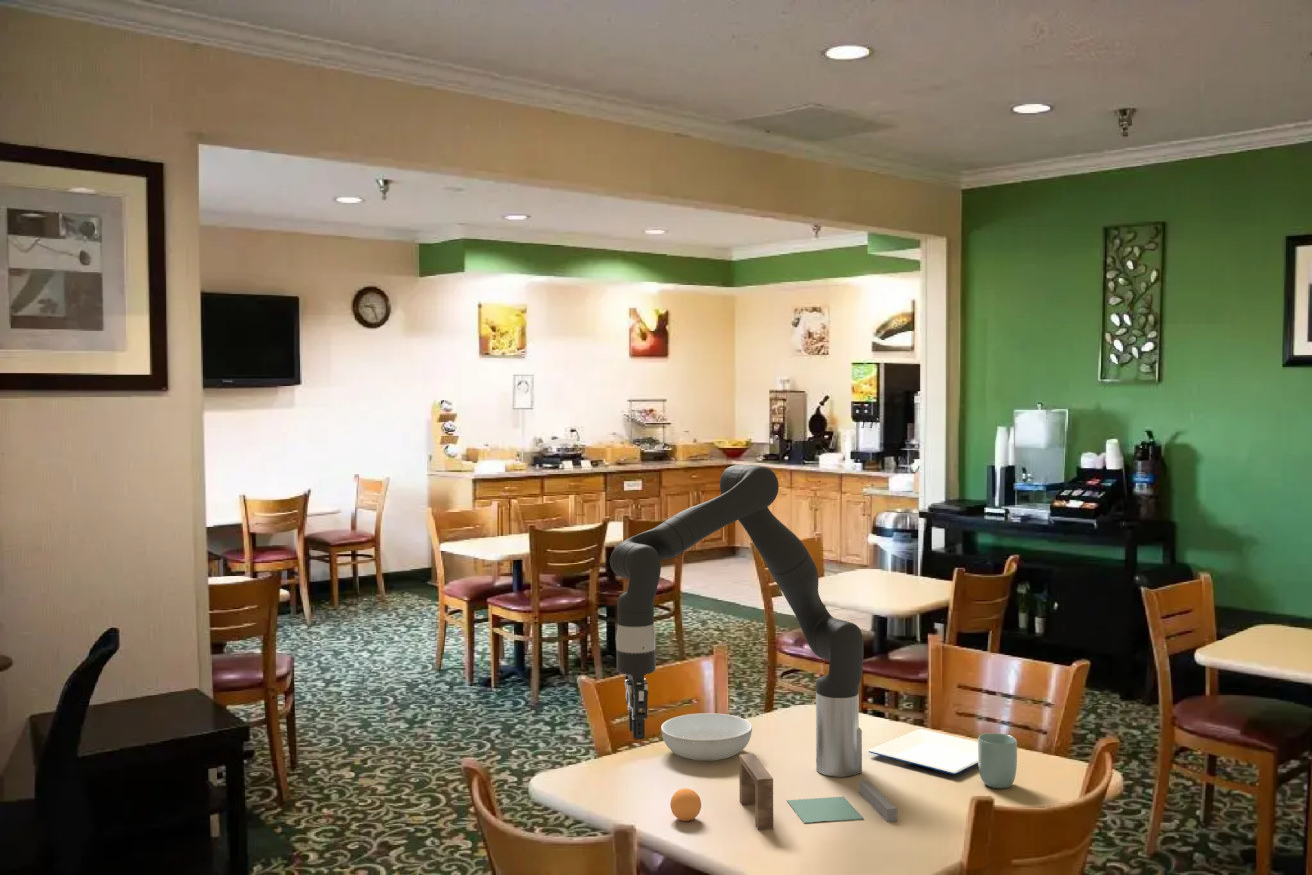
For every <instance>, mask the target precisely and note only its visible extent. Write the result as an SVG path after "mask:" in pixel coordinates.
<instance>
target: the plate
mask: <svg viewBox="0 0 1312 875" xmlns="http://www.w3.org/2000/svg"><path fill="white" fill-rule="evenodd" d="M867 752H868V753H870V754H874V755H878V756H881V757H885V758H888V759H893V760H897V761H901V762H905V763H908V764H913V765H916V766H920V767H924V768H926V769H927V768H928V769H932V770H935V771H939V772H943V773H947V774H950V775H951V774H952V775H957V774H959V773H960V772H963V771H965V770H967V769H969V768H971V767H973V766H975V765H978V741H975V740H970V739H965V738H961V737H958V736H952V735H948V734H943V733H939V732H935V731H931V730H928V729H922V728H919V729H916V730H913V731H910V732H907V733H906V734H903V735H901V736H898V737H896V738H894V739H891V740H888V741H886V742H883V743H882V744H879V745H876V746H874V747H871V748H869V749H867Z"/></svg>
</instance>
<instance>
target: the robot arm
mask: <svg viewBox="0 0 1312 875" xmlns="http://www.w3.org/2000/svg"><path fill="white" fill-rule="evenodd" d="M779 487H780V485H779V480H778V477H777V475H776V474H775V472H774V471H773V470H772V469H770V468H769V467H766V466H763V465H757V464H734V465H730V466H729V467H727V468H725V469H724V471H723V472H722V474H721V475H720V480H719V490H720V493H721V495H718V496H716V497H714V498H712V499H710V500H708V501H707V500H706V501H704V502H702V503H699V504H696V505H694V506H690V507H688V508H686V509H684V510H681V511H680V512H678V513H676V514H674V515H672V516H671V517H669V518H668V519H666V520H664V521H663V522H661V523H660V524H658V525H657V526H655V527H654V528H651V529H649V530H645V531H643V532H641V533H638V534H636V535H635V534H634V536H630V537H628V538H627V539H625V540H623V541H622V542H620V543H619V544H617V546H615V547H614V549H613V550H612V552H611V555H610V558H609V564H610V568H611V571H612V572H613V573H614V574H615V575H617V576H618V577H620V578H622V579H627V580H628V587H627V591H625V592H623V593H621V594H619V596H618V598H617V627H616V637H615V639H616V642H615V643H616V647H615V648H616V670H617V672H618V673H620V674H622V675H625V676H624V687H625V699H626V701H625V704H626V708H627V711H628V730H629V731H630V732H632V738H633V739H634V740H635V741H636V740H644V739H645V736H646V735H645V732H646V731H645V726H646V725H645V723H646V722H645V720H647V719H648V699H649V698H648V697H649V686H648V684H649V683H648V682H647V681H646V678H645V676H646V675H648V674H652V673H655V671H656V668H657V667H656V666H657V665H656V664H657V663H656V659H657V658H656V654H657V652H656V630H655V605H654V604H655V598H656V595H657V590H658V586H659V583H660V577H661V570H662V564H661V563H662V562H661V560H670V559H673V558H676V557H678V556H679V555H681V554H682V553H684V552H685V551H686V550H689V549H690V548H692V547H693V546H695V545H696V544H698V543H699V542H702V540H704V539H706V538H707V537H708V536H711V535H712V534H714V533H715V532H718V531H719V530H721V529H722V528H724V527H727V526H728V525H731V524H733V523H734V522H736V521H738V522H739V523H740V525H742V527H743V529H744V530H745V531H746V533H747V535H748V536H749V538H750V539H751V542H752V543H753V545H754V546H755V549H756V550H757V551H758V553H759V554H760V557H761V558H762V560H763V561H764V563H765V566H766V568H767V569H768V571H769V573H770V575H771V576H772V578H773V580H774V581H775V583H776V585H777V586H778V587H779V589H780V591H781V592H782V595H783V596H784V598H785V600H786V602H787V603H788V605H789V607H790V608H791V610H792V612H793V614H794V615H795V618H796V619H797V622H798V624H799V627H800V628H801V631H802V633H803V635H804V638H805V640H806V642H807V644H808V646H809V648H810V649H811V650H810V651H812V652H813V653H814V654H815V656H817V657H819V658H821V659H823V660H826V661H829V671H828V674H825V675H822V676H820V677H818V678H816V682H815V726H816V727H815V736H816V738H815V746H816V747H815V753H816V756H815V764H816V766H815V769H816V771H817V772H818V773H820V774H822V775H824V776H828V777H829V776H830V777H835V778H836V777H837V778H838V777H840V778H842V777H844V778H845V777H850V776H855V775H857V774H862V773H863V730H862V729H861V727H860V721H859V717H860V716H859V714H860V711H859V710H860V709H859V707H860V706H859V705H860V704H859V703H860V702H859V697H860V696H859V695H860V694H859V692H860V691H859V689H860V684H861V682H862V679H863V670H864V669H863V668H864V667H863V666H864V652H865V651H864V644H865V643H864V637H863V636H864V635H863V633H862V630H861V628H860V627H859V626H858V625H857V624H855V623H854V622H850V621H846V620H843V619H839V618H835V617H834V616H832V615H831V614H830V612H829V611H828V609H827V608H826V606H825V603H824V602H823V601H822V599H821V597H820V594H819V593H820V592H819V572H818V568H817V565H816V563H815V561H814V560H813V557H812V556H811V554H810V552H809V550H808V549H807V547H806V545H805V544H804V543H803V542H802V541H801V539H800V538H799V537H798V536H797V535H796V534H795V533H794V532H793V531H791V529H789V528H788V527H787V526H786V525H785V524H784V523H782V522H781V520H779V519H778V518H777V517H776V516H775V515H774V513H773V512H772V511H771V510H770V509H769V507H770V506H771V505H772V504H773V503H774V501H775V500H776V498H777V496H778V494H779Z"/></svg>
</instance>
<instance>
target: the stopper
mask: <svg viewBox="0 0 1312 875" xmlns="http://www.w3.org/2000/svg"><path fill="white" fill-rule="evenodd" d="M858 793H859V794H860V795H861V796H862V797H863V798H864V799H865V800H866V802H867V803H868V804H869V805H870V804H871V805H870V806H872V808H873V809H874V810H875V811H876V812H877V813H878V814H879V815H880V816H881V817H882V818H883V820H885V822H887V823H889V822H890V821H891V822H898V808H897V807H896V805H895V804H893V802H891V801H890V800H889V799H888V798H887V797H886V796H885V795H884V794H883V793H882V792H881V791H880V790H879V789H878V788H877V787H876V786H875V785H874V784H873V783H872V782H871V781H870V780H867V779H866V780H859V781H858Z"/></svg>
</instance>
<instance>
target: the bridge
mask: <svg viewBox="0 0 1312 875" xmlns="http://www.w3.org/2000/svg"><path fill="white" fill-rule="evenodd" d="M738 754H739V753H738ZM738 758H739V759H738V760H739V761H738V762H739V764H738V765H739V770H738V771H739V772H738V773H739V778H738V780H739V781H738V782H739V803H740V805H741V804H742V805H741V806H749V805H748V804H754V805H755V806H754V808H755V809H754V813H755V816H754V817H755V818H754V819H755V823H754V825H755V828H756V827H757V828H756V830H757V831H762V830H773V829H774V778H773V776H772V775H771V774H770V773H769V771H768V770H767V768H766V767H765V766H764V765H763V763H762V762H761V761H760V760H759V758H758V757H757V756H756V755H755V753H742V754H739V756H738Z"/></svg>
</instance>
